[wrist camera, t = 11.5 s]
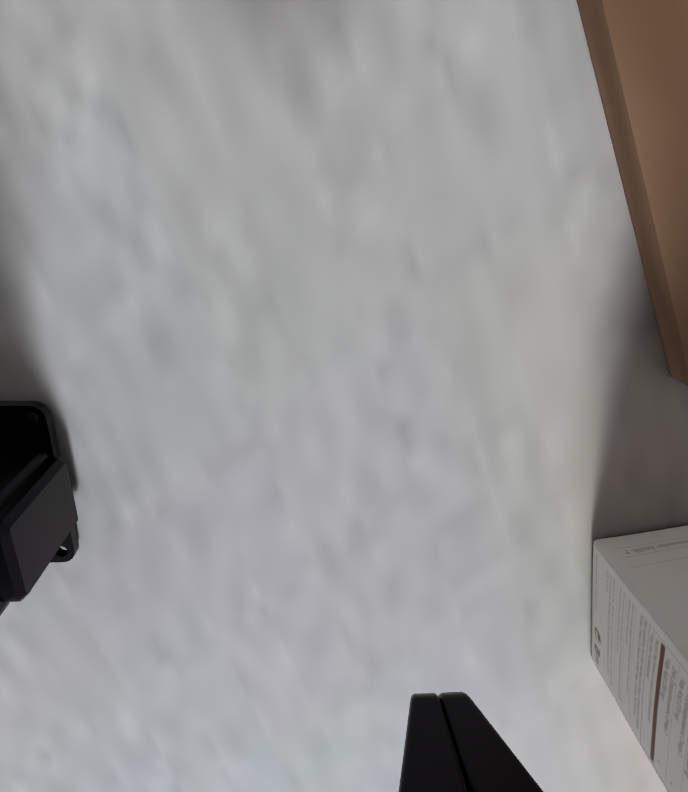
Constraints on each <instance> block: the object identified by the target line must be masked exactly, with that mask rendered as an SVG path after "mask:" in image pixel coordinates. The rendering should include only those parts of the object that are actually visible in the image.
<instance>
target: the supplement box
mask: <svg viewBox="0 0 688 792" xmlns="http://www.w3.org/2000/svg"><path fill="white" fill-rule="evenodd" d="M591 636H592V645H591V650H592V660H593V662H594V663H595V665H596V667H597V669H598V671H599V672H600V674H601V676H602V678H603V680H604V681H605V683H606V685H607V687H608V688H609V690H610V692H611V693H612V695H613V697H614V699H615V700H616V702H617V704H618V706H619V708H620V710H621V711H622V713H623V715H624V717H625V719H626V721H627V722H628V724H629V726H630V727H631V729H632V731H633V733H634V734H635V736H636V738H637V740H638V741H639V743H640V745H641V747H642V748H643V750H644V752H645V754H646V755H647V757H648V759H649V761H650V762H651V764H652V766H653V768H654V769H655V771H656V773H657V774H658V776H659V778H660V780H661V781H662V783H663V785H664V786H665V788H666V790H667V792H688V525H687V526H681V527H675V528H668V529H663V530H657V531H649V532H645V533H639V534H632V535H625V536H618V537H611V538H604V539H597V540H595V541H594V546H593V575H592V635H591Z"/></svg>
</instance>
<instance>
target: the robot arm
mask: <svg viewBox="0 0 688 792" xmlns="http://www.w3.org/2000/svg"><path fill="white" fill-rule="evenodd" d="M29 412H31V413H34V414H36V415H37V416H38V418H39V421H35V420H33V419H32V418H31V417H30V416H29ZM77 521H78V516H77V511H76V506H75V501H74V496H73V491H72V486H71V482H70V477H69V472H68V467H67V463H66V462H65V461H64V460H63V459H62V458H61V457H60V452H59V447H58V442H57V437H56V433H55V428H54V423H53V418H52V414H51V412H50V409H49V408H48V407H47V406H46V405H45V404H43V403H41V402H37V401H0V615H1V614H2V613H3V611H4V610H5V608H6V607H7V605H8V604H9V603H10V602H17V601H21V600H22V599H24V598H25V597H26V596H27V595H28V594H29V592H30V591H31V589H32V588H33V586H34V585H35V583H36V582H37V580H38V579H39V577H40V576H41V574H42V573H43V571H44V570H45V568H46V567H47V565H48V564H49V563H50V562H66V561H69V560H71V559H72V558H73V557H74V555H75V553H76V552H77V550H78V548H79V543H78V538H77V533H76V529H75V524H76V522H77ZM60 546H63V547H65V548H66V549H67V550H63V549H61V548H60ZM399 792H543V791H542V789H541V788H540V787H539V786H538V784H537V783H536V782H535V781H534V779H533V778H532V777H531V775H530V774H529V773H528V772H527V770H526V769H525V768H524V766H523V765H522V764H521V763H520V761H519V760H518V759H517V757H516V756H515V755H514V754H513V752H512V751H511V750H510V748H509V747H508V746H507V745H506V743H505V742H504V741H503V739H502V738H501V737H500V736H499V734H498V733H497V732H496V730H495V729H494V728H493V727H492V725H491V724H490V723H489V721H488V720H487V719H486V718H485V716H484V715H483V714H482V712H481V711H480V710H479V709H478V707H477V706H476V705H475V704H474V702H473V701H472V700H471V698H470V697H469V696H468V695H467V694H465V693H463V692H448V693H441V694H440V695H439V696H438V695H436V694H434V693H424V694H413V695H412V697H411V701H410V709H409V716H408V724H407V732H406V740H405V747H404V755H403V763H402V771H401V778H400V786H399Z"/></svg>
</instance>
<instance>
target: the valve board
mask: <svg viewBox="0 0 688 792" xmlns="http://www.w3.org/2000/svg"><path fill="white" fill-rule="evenodd" d="M577 3H578V7H579V11H580V15H581V19H582V23H583V27H584V31H585V35H586V39H587V43H588V47H589V51H590V55H591V59H592V63H593V67H594V71H595V75H596V79H597V83H598V87H599V91H600V95H601V99H602V103H603V107H604V111H605V115H606V119H607V123H608V127H609V131H610V135H611V139H612V143H613V147H614V151H615V155H616V159H617V163H618V167H619V171H620V175H621V179H622V183H623V187H624V191H625V195H626V199H627V203H628V207H629V211H630V215H631V219H632V223H633V227H634V231H635V235H636V239H637V243H638V247H639V251H640V255H641V259H642V263H643V267H644V271H645V275H646V279H647V283H648V287H649V291H650V295H651V300H652V304H653V308H654V312H655V316H656V320H657V324H658V328H659V332H660V336H661V340H662V344H663V348H664V352H665V356H666V360H667V364H668V368H669V372H670V376H671V377H673V378H675V379H677V380H679V381H680V382H682V383H684V384H686V385H688V0H577Z"/></svg>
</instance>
